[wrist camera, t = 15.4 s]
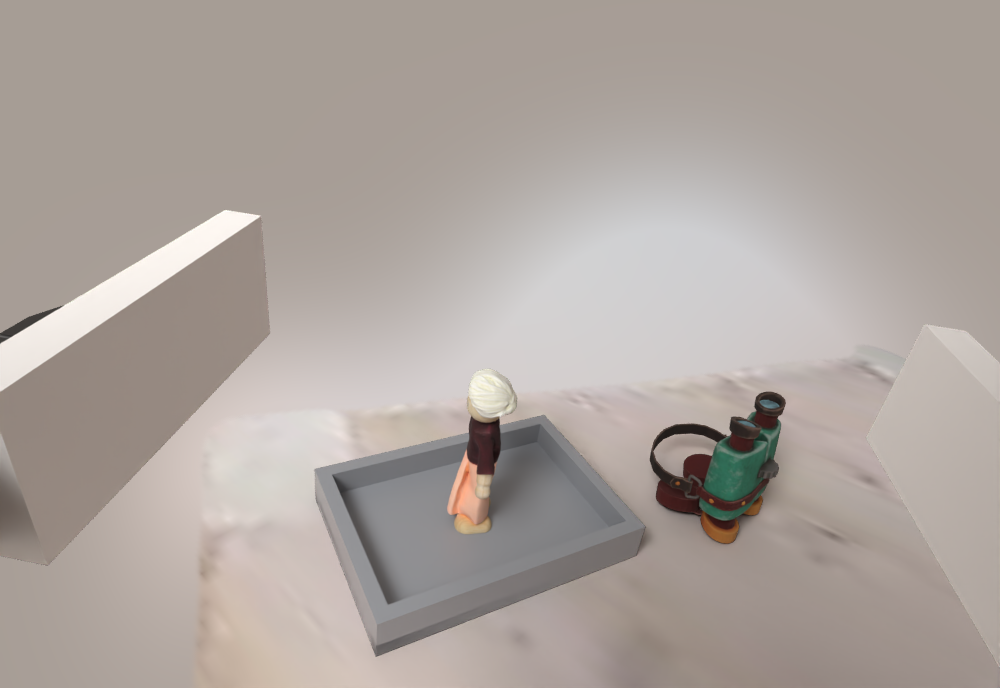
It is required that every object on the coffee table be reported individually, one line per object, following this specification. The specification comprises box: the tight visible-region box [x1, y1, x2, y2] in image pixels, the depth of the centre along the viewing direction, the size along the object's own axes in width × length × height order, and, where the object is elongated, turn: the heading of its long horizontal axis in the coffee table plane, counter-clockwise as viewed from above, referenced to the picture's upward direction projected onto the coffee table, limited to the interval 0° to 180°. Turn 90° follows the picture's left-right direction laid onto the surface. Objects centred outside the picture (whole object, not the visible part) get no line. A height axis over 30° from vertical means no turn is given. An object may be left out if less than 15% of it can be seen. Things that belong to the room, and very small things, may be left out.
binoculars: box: [650, 392, 786, 543], centre depth 51 cm, size 9×11×10 cm
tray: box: [315, 415, 645, 656], centre depth 47 cm, size 20×14×3 cm
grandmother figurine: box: [447, 369, 517, 534], centre depth 44 cm, size 8×4×13 cm, turn 11°
